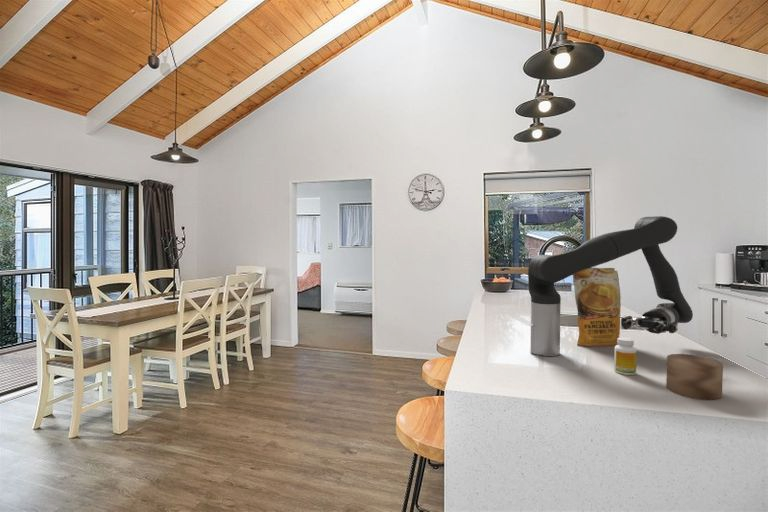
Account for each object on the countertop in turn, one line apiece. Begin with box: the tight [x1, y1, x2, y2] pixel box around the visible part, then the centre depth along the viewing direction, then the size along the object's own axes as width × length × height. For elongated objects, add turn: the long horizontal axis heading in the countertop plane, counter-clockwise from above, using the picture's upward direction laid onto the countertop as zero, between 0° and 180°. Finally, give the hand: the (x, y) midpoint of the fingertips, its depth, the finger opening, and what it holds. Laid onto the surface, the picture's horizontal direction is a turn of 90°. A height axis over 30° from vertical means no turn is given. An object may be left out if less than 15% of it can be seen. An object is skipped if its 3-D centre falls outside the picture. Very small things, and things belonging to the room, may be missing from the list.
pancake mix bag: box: [572, 267, 622, 347], centre depth 141 cm, size 7×19×28 cm, turn 94°
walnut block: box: [665, 353, 724, 401], centre depth 98 cm, size 11×11×8 cm
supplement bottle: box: [613, 337, 637, 376], centre depth 112 cm, size 5×5×10 cm
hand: (640, 328), depth 118 cm, fingers open, 8 cm apart
